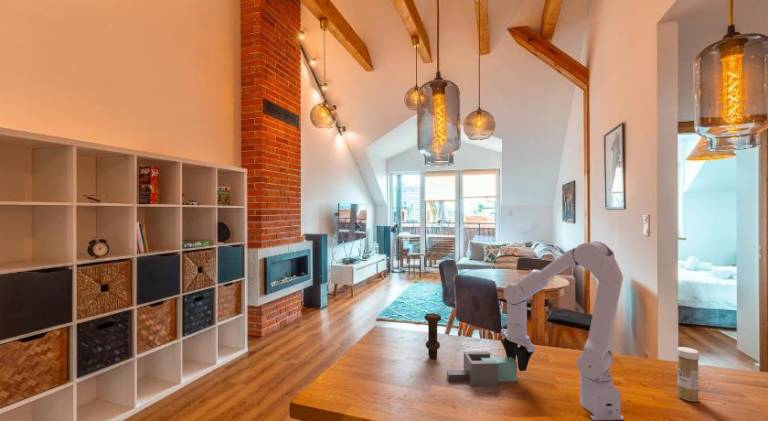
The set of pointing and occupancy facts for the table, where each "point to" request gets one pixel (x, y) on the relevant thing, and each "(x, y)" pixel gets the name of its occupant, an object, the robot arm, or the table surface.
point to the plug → (504, 367)
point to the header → (476, 370)
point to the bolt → (432, 334)
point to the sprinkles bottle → (688, 373)
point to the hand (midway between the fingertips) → (516, 366)
